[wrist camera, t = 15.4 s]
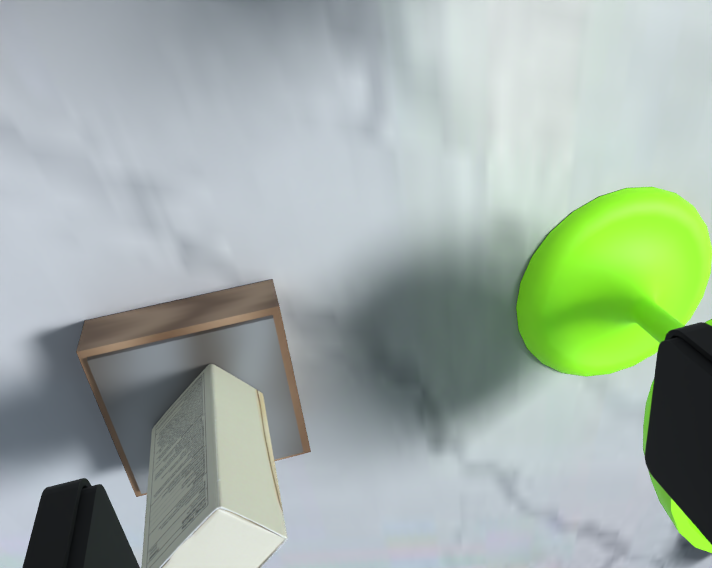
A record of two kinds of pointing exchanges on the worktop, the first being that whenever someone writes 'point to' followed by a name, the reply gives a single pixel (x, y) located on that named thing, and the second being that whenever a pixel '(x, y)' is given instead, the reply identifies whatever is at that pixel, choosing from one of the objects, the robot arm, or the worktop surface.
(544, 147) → the worktop surface
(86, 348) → the plinth
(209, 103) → the worktop surface
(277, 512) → the skincare box
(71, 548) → the robot arm
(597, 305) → the wineglass
